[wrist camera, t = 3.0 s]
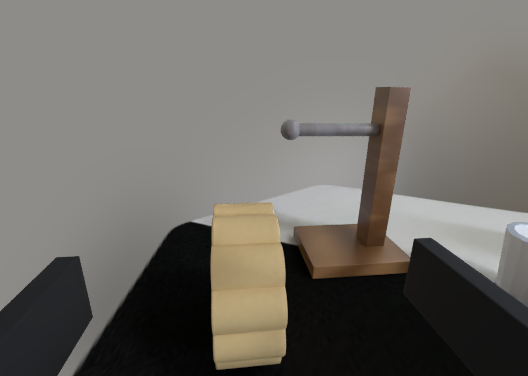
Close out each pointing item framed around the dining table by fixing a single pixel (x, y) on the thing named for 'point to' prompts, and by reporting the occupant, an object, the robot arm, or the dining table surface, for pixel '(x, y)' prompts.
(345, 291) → the dining table surface
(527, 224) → the white ribbed cup
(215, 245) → the yellow scalloped ring
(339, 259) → the hook stand
